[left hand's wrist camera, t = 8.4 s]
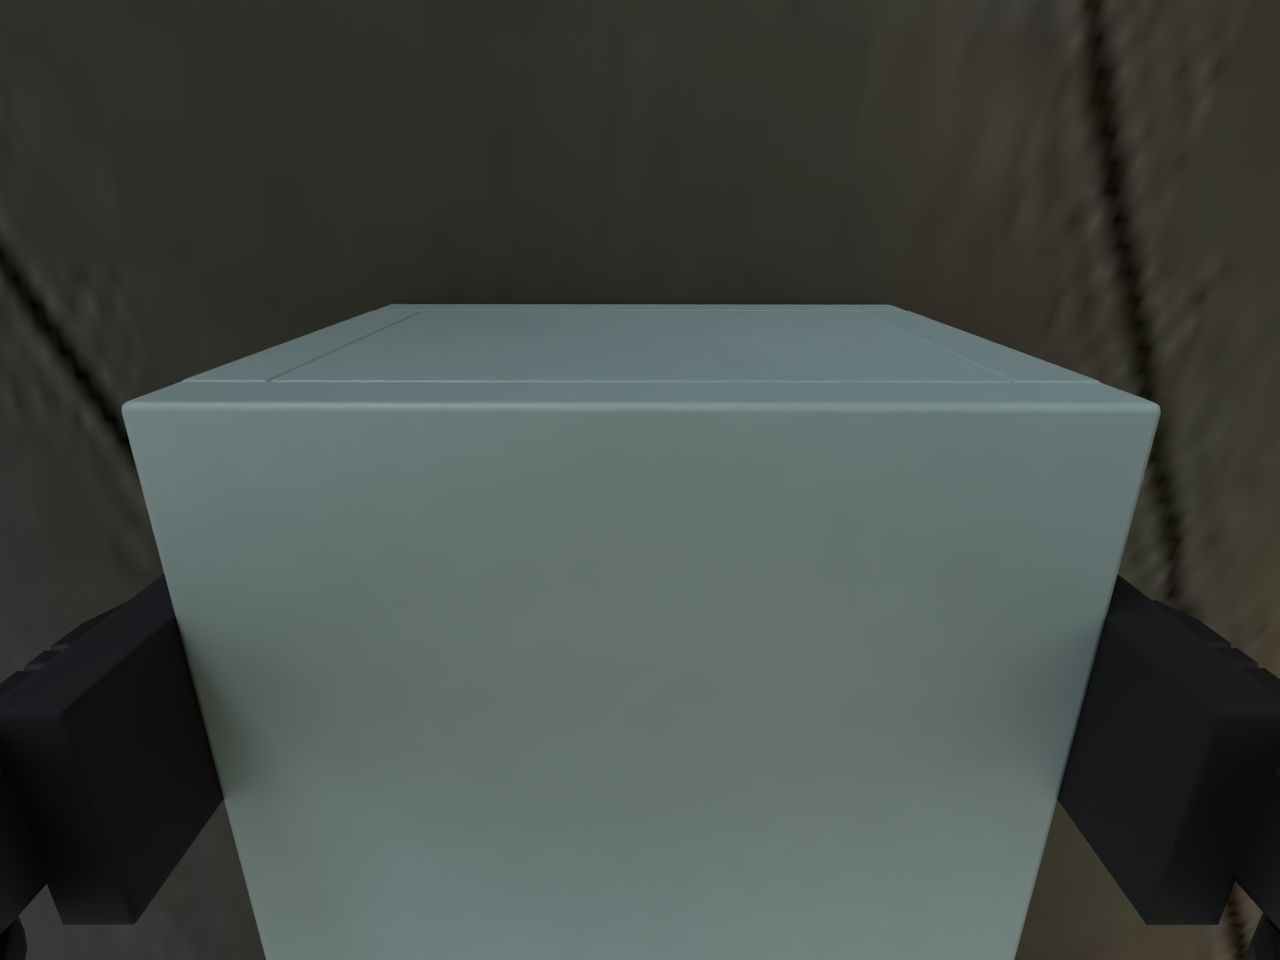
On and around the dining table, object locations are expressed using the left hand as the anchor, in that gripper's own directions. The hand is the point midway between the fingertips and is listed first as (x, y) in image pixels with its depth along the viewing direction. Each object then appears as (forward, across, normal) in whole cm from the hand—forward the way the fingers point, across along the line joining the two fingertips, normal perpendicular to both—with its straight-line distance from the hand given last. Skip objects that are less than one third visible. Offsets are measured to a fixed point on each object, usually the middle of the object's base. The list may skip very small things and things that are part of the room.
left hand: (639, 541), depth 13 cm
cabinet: (+4, 0, -6) cm, 7 cm away
